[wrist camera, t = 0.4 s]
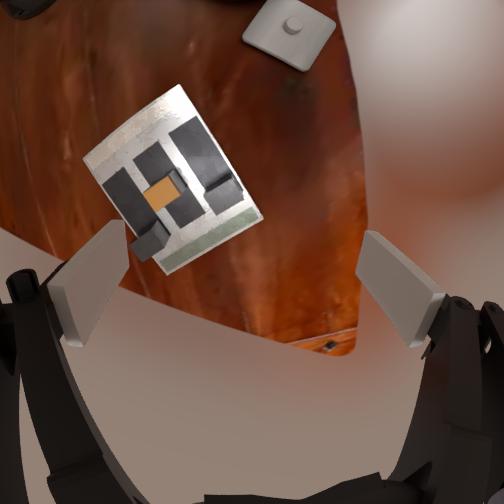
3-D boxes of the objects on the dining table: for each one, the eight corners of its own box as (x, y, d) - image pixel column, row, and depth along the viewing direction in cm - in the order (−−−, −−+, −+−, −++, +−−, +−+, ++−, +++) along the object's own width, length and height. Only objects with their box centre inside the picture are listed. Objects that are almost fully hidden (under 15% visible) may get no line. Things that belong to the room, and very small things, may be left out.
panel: (88, 156, 34) (67, 163, 29) (181, 86, 32) (172, 79, 26) (169, 269, 43) (161, 290, 38) (262, 214, 41) (268, 230, 35)
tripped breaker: (150, 185, 35) (141, 193, 31) (174, 169, 35) (167, 175, 31) (162, 203, 36) (155, 213, 32) (186, 187, 36) (181, 195, 32)
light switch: (301, 76, 32) (312, 70, 28) (238, 43, 30) (240, 32, 25) (331, 28, 29) (344, 18, 24) (272, -4, 26) (278, -18, 22)
